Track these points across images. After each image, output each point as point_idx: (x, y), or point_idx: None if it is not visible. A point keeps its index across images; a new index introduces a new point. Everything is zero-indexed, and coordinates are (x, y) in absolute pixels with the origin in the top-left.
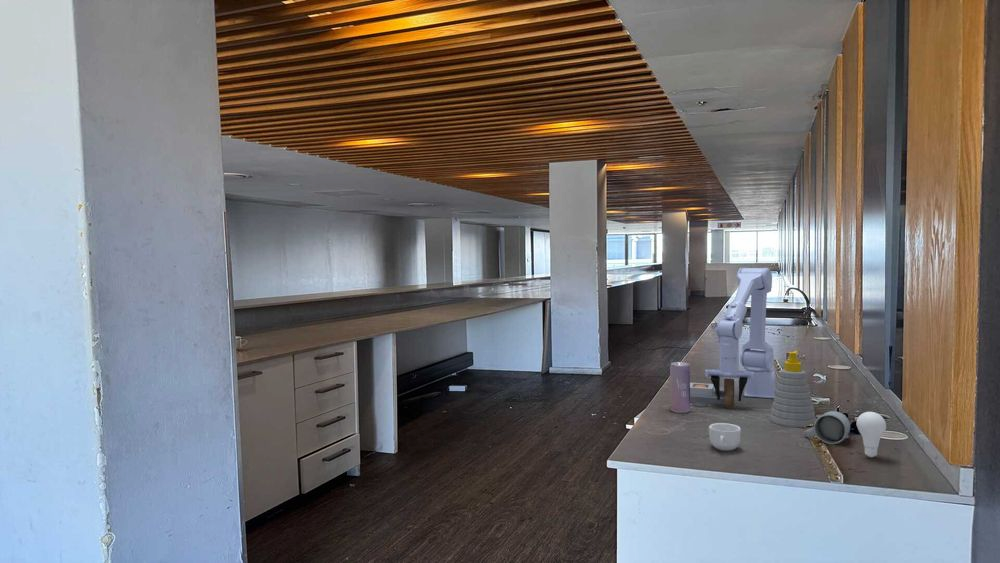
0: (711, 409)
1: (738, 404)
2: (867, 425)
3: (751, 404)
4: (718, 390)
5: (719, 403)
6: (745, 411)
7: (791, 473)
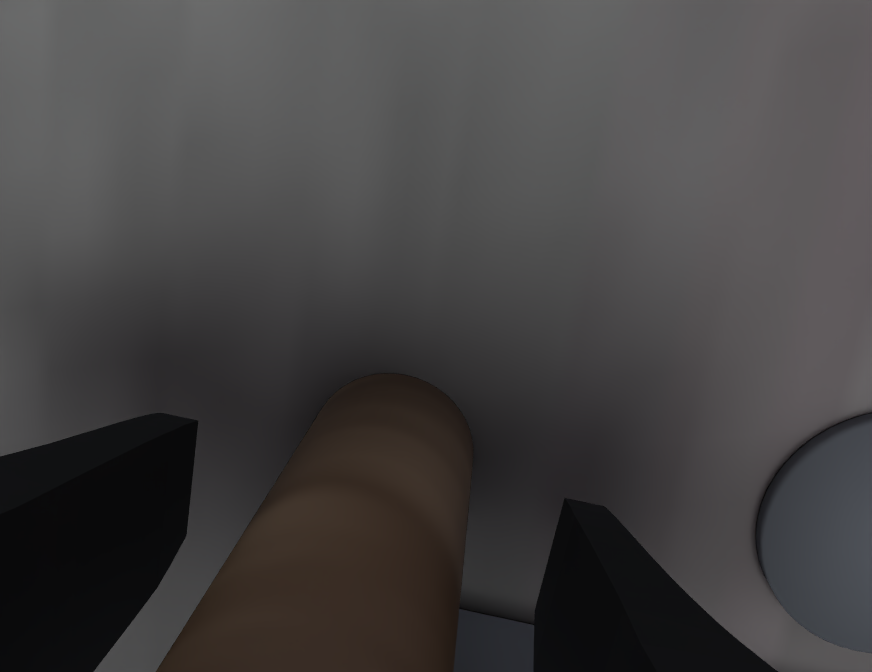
0: (733, 278)
1: None
2: None
3: None
4: (629, 598)
5: (523, 634)
6: (147, 205)
7: None
